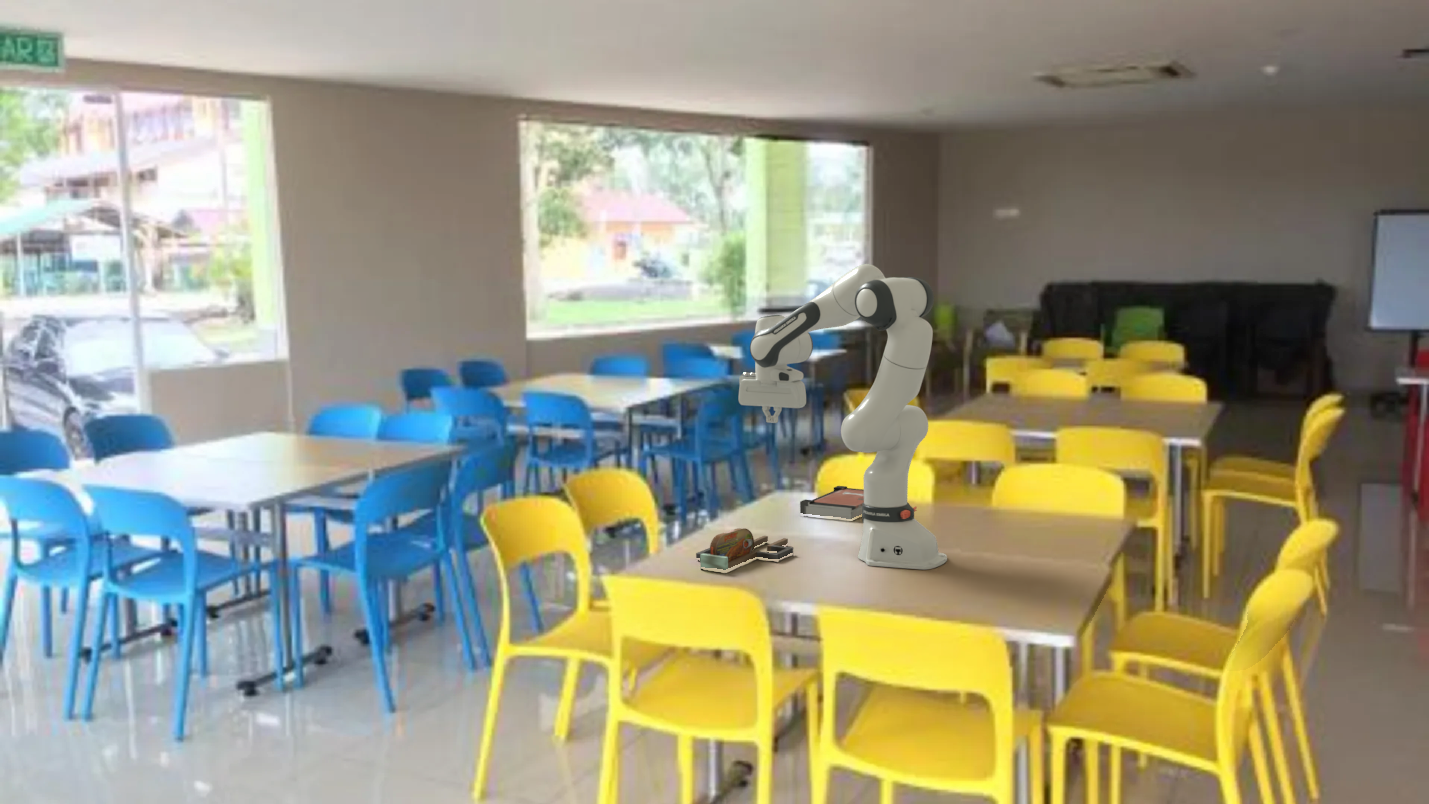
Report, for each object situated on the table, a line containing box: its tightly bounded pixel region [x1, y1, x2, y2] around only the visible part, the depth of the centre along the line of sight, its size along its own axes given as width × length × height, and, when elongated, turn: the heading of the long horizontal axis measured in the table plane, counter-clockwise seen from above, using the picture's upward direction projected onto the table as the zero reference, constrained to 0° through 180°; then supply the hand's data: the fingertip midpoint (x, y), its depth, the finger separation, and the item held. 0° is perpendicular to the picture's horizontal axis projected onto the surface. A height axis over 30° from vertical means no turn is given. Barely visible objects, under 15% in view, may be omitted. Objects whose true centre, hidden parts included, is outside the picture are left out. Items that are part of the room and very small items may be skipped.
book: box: [799, 485, 864, 519], centre depth 360 cm, size 26×18×5 cm
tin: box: [709, 527, 755, 562], centre depth 303 cm, size 15×3×8 cm, turn 139°
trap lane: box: [695, 535, 794, 570], centre depth 308 cm, size 19×31×4 cm, turn 147°
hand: (772, 422), depth 332 cm, fingers closed
